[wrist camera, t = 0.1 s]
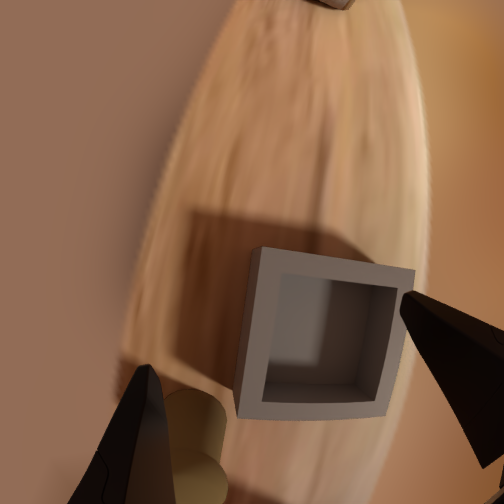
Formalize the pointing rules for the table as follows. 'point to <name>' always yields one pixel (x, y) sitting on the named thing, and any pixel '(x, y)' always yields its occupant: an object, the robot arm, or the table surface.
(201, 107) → the table surface
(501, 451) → the robot arm
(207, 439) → the cork
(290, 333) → the holder block
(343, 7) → the ceramic mug
